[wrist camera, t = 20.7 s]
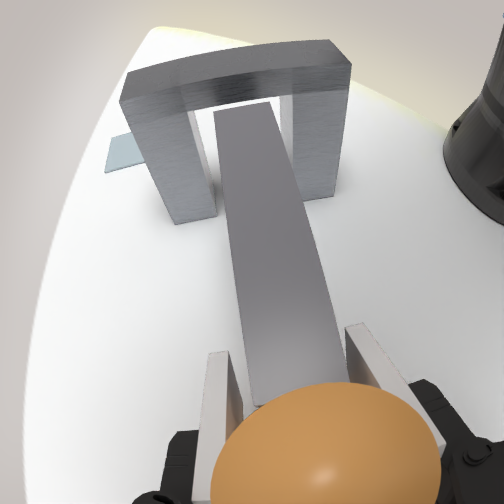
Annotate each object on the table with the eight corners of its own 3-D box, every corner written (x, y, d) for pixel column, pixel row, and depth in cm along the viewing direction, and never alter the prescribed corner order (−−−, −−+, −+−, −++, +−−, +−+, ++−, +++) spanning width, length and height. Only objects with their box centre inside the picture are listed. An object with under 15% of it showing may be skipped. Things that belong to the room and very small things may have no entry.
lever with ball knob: (287, 173, 21) (278, 34, 12) (358, 476, 12) (450, 543, 3) (219, 185, 21) (181, 51, 12) (265, 495, 12) (228, 594, 3)
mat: (158, 126, 35) (157, 125, 35) (155, 159, 32) (155, 158, 32) (112, 139, 35) (111, 137, 35) (105, 173, 32) (104, 172, 32)
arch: (319, 163, 30) (328, 38, 19) (333, 196, 28) (351, 63, 16) (174, 189, 30) (128, 71, 18) (174, 224, 28) (118, 102, 16)
